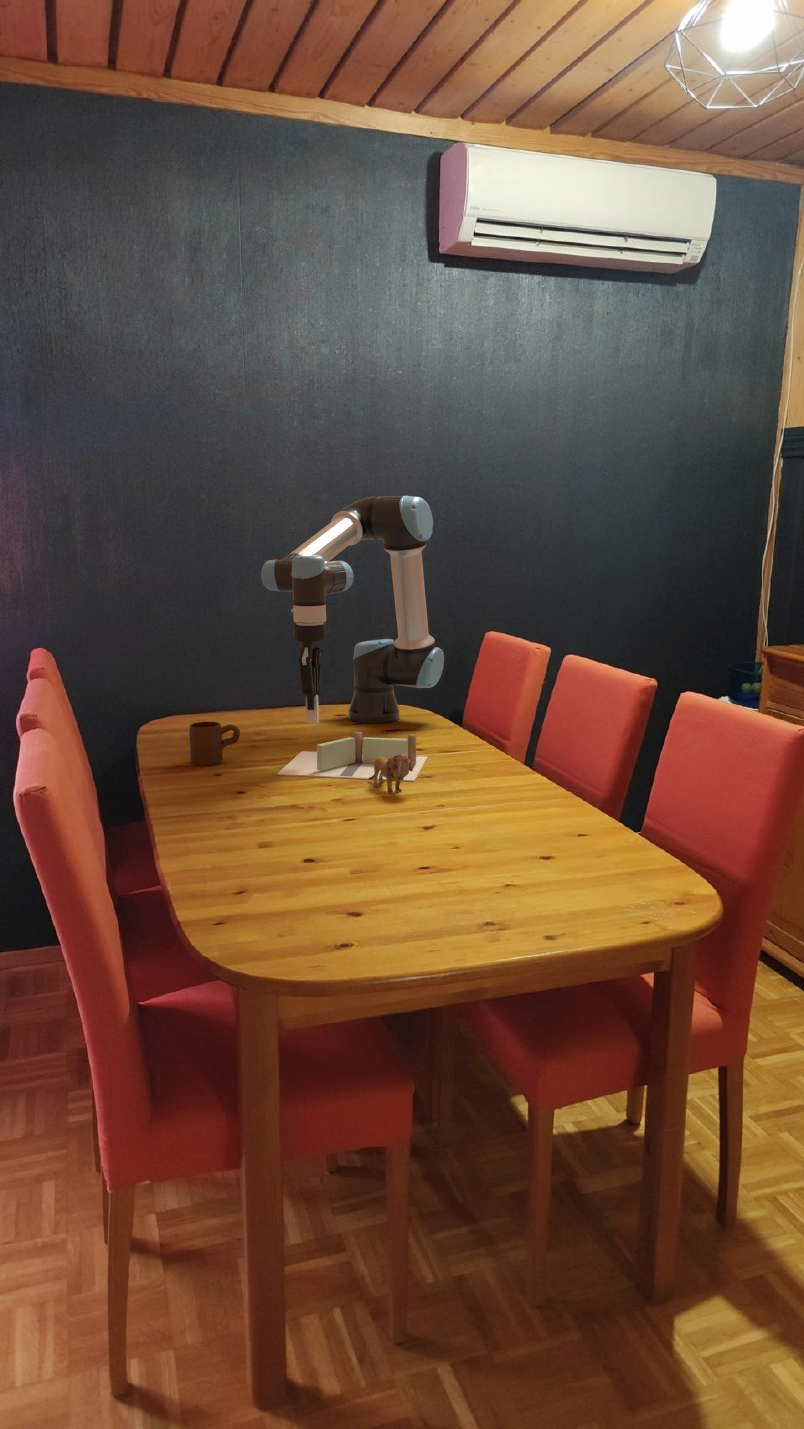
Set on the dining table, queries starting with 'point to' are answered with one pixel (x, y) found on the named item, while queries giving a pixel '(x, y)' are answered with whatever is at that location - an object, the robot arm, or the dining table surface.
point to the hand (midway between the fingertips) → (312, 722)
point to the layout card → (340, 768)
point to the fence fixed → (383, 748)
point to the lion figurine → (392, 770)
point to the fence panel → (335, 753)
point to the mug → (209, 742)
